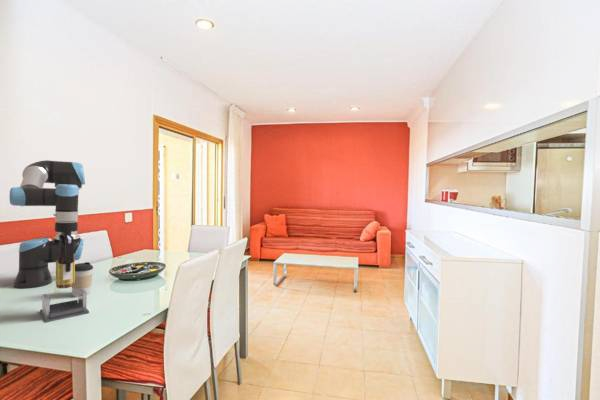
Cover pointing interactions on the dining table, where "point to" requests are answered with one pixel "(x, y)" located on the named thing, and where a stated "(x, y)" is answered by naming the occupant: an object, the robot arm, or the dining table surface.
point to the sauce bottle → (59, 270)
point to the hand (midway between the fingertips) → (65, 277)
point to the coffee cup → (82, 278)
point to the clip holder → (64, 307)
